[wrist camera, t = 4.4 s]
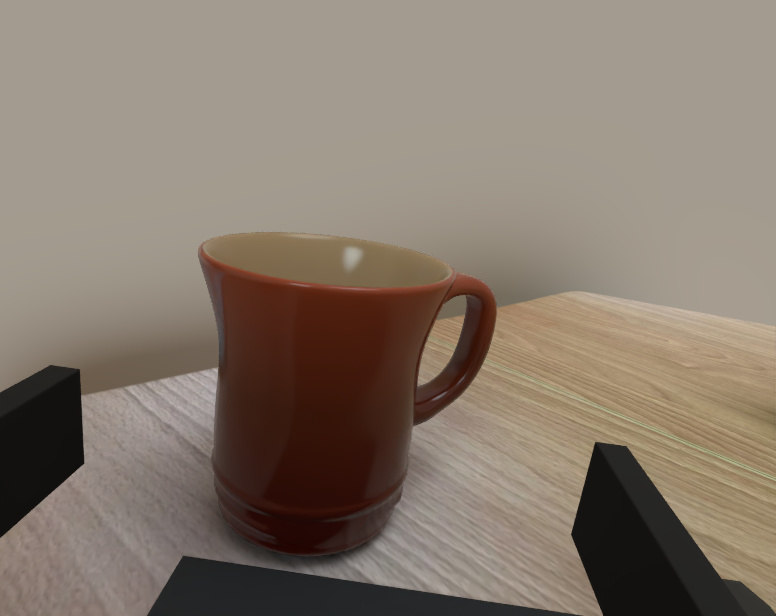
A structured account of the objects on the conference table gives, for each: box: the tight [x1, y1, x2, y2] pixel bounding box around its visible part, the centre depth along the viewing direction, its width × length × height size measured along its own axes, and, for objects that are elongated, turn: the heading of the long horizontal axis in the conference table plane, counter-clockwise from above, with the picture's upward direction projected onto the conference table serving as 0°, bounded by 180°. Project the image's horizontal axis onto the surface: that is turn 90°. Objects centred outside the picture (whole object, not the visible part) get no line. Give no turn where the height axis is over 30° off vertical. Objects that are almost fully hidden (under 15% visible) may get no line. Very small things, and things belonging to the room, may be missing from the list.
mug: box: [198, 232, 497, 557], centre depth 21 cm, size 13×9×11 cm
